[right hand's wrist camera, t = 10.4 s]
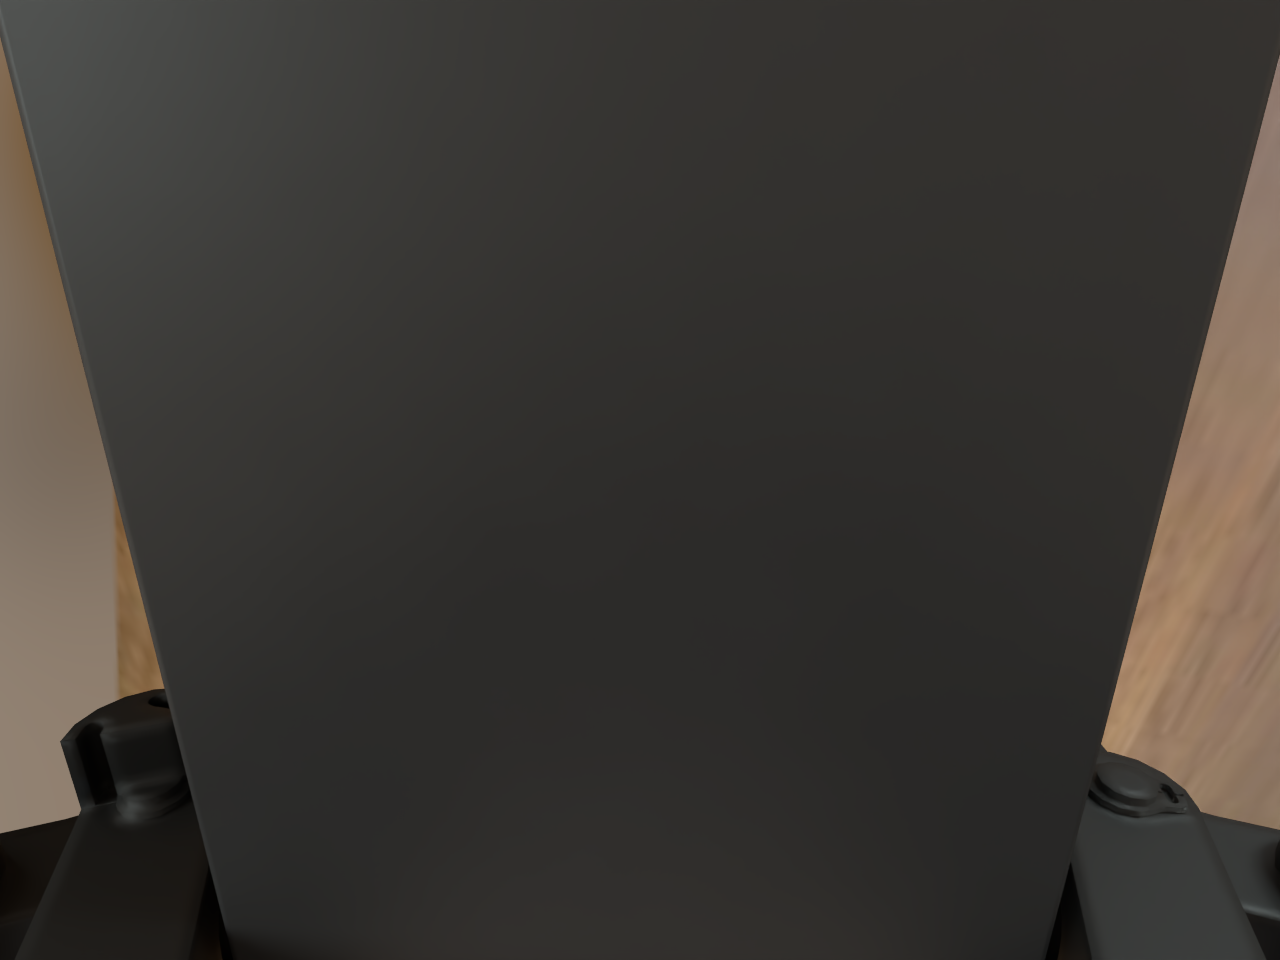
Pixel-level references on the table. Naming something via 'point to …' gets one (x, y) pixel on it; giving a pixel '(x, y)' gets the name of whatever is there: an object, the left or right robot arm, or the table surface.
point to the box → (640, 443)
